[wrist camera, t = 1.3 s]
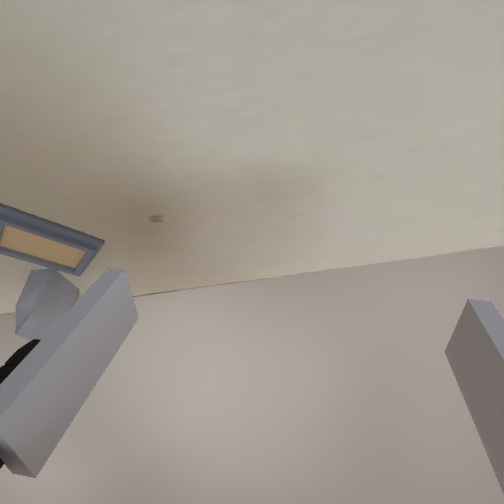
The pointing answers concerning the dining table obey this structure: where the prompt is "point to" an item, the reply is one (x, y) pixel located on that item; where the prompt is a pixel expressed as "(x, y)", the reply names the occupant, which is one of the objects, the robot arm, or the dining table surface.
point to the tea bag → (43, 303)
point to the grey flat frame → (45, 242)
